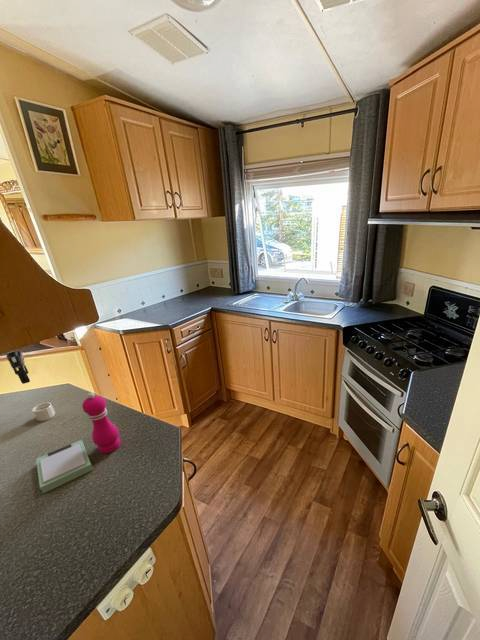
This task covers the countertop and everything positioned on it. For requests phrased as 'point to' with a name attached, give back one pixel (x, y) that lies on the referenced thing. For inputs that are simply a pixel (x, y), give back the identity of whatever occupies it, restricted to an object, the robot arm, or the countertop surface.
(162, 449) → the countertop surface
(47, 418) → the dip bowl
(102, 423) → the pepper mill
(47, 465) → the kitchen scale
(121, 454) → the countertop surface
